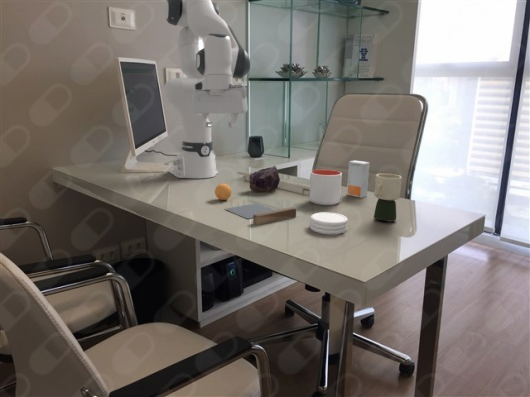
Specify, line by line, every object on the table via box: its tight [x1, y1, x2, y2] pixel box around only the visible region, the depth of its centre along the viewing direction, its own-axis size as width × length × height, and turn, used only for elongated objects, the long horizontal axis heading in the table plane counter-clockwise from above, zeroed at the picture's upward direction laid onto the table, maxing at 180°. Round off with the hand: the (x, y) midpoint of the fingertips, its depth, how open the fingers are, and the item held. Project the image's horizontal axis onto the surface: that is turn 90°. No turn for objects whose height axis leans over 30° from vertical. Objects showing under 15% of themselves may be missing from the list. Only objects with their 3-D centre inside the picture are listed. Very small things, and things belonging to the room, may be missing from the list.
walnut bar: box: [252, 206, 297, 226], centre depth 124 cm, size 2×14×2 cm, turn 128°
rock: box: [248, 165, 281, 193], centre depth 158 cm, size 12×9×10 cm
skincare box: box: [346, 160, 371, 199], centre depth 153 cm, size 6×4×12 cm
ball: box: [214, 183, 232, 201], centre depth 144 cm, size 5×5×5 cm
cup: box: [309, 169, 343, 206], centre depth 144 cm, size 10×10×10 cm
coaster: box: [309, 211, 349, 235], centre depth 118 cm, size 10×10×4 cm
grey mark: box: [225, 202, 275, 220], centre depth 133 cm, size 12×12×1 cm
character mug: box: [373, 173, 403, 222], centre depth 125 cm, size 11×7×13 cm, turn 132°
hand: (219, 127), depth 147 cm, fingers open, 8 cm apart
